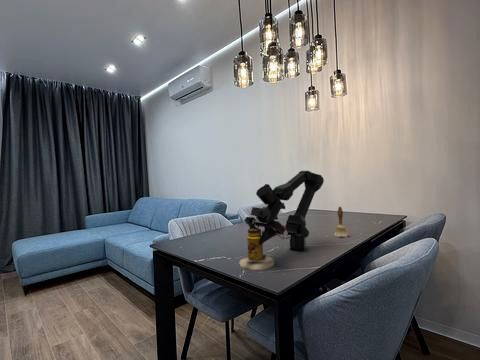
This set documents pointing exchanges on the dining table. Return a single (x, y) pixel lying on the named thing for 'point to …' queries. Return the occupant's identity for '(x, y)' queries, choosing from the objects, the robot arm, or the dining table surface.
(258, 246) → the condiment
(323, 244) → the dining table surface
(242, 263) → the beige round plate
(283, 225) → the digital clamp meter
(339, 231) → the hand bell
